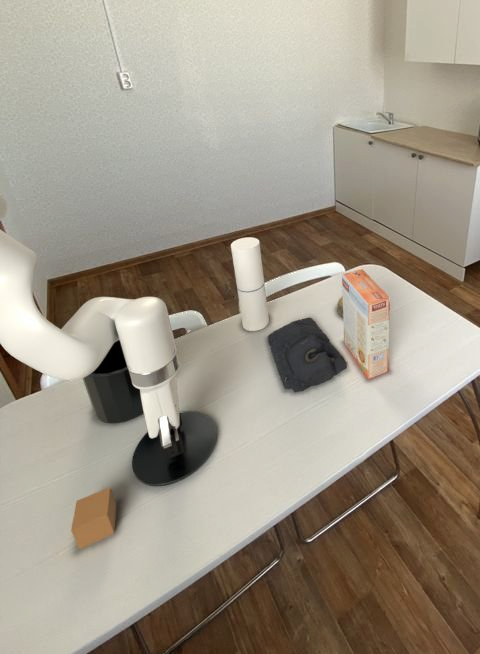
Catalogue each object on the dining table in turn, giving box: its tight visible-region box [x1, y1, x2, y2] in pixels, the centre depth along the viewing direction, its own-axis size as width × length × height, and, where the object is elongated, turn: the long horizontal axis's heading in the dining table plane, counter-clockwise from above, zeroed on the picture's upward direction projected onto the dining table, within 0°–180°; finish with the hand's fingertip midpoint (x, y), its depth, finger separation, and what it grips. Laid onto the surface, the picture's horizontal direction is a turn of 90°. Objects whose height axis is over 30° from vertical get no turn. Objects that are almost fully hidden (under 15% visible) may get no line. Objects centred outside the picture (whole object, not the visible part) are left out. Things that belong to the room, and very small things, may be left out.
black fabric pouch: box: [267, 316, 347, 393], centre depth 95 cm, size 15×22×5 cm
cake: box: [336, 295, 343, 318], centre depth 112 cm, size 10×10×5 cm
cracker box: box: [341, 268, 391, 380], centre depth 91 cm, size 14×6×21 cm, turn 25°
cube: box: [70, 486, 118, 550], centre depth 60 cm, size 5×5×5 cm
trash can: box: [82, 340, 144, 424], centre depth 82 cm, size 14×14×12 cm
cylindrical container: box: [230, 236, 270, 332], centre depth 103 cm, size 7×7×25 cm
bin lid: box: [131, 410, 217, 488], centre depth 72 cm, size 15×15×7 cm
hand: (174, 440), depth 72 cm, fingers open, 5 cm apart
